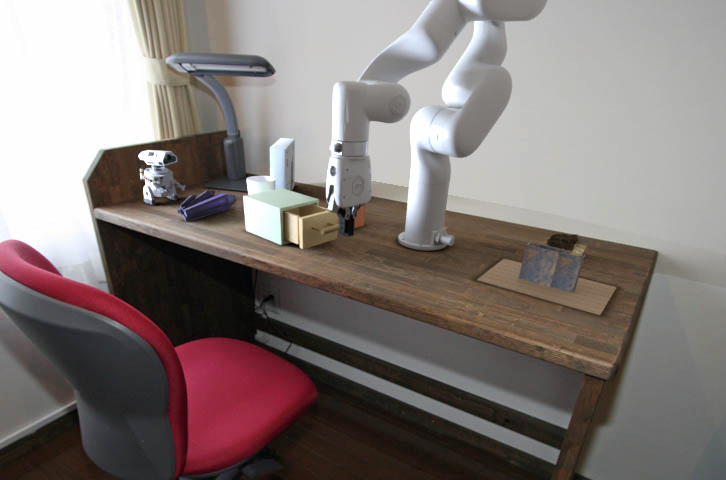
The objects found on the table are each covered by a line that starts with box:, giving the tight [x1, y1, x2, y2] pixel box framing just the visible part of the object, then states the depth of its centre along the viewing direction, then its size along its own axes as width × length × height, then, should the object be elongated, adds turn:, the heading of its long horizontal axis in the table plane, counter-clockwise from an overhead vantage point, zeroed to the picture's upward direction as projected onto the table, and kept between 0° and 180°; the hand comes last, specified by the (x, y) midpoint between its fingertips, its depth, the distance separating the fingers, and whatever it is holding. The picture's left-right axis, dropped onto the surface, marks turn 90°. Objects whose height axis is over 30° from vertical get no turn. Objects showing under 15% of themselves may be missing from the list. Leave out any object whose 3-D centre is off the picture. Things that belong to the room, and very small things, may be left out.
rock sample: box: [546, 233, 583, 251], centre depth 117 cm, size 10×8×9 cm
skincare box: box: [269, 137, 296, 191], centre depth 154 cm, size 21×5×16 cm, turn 179°
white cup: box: [246, 175, 276, 195], centre depth 134 cm, size 8×8×10 cm
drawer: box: [283, 204, 339, 250], centre depth 115 cm, size 18×11×7 cm, turn 47°
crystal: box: [176, 190, 237, 222], centre depth 133 cm, size 7×12×20 cm
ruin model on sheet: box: [476, 241, 618, 316], centre depth 99 cm, size 25×16×10 cm, turn 54°
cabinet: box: [242, 188, 320, 246], centre depth 121 cm, size 15×13×9 cm
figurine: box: [137, 149, 189, 206], centre depth 139 cm, size 9×12×15 cm
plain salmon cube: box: [338, 204, 366, 229], centre depth 129 cm, size 6×6×6 cm
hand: (346, 234), depth 107 cm, fingers closed
